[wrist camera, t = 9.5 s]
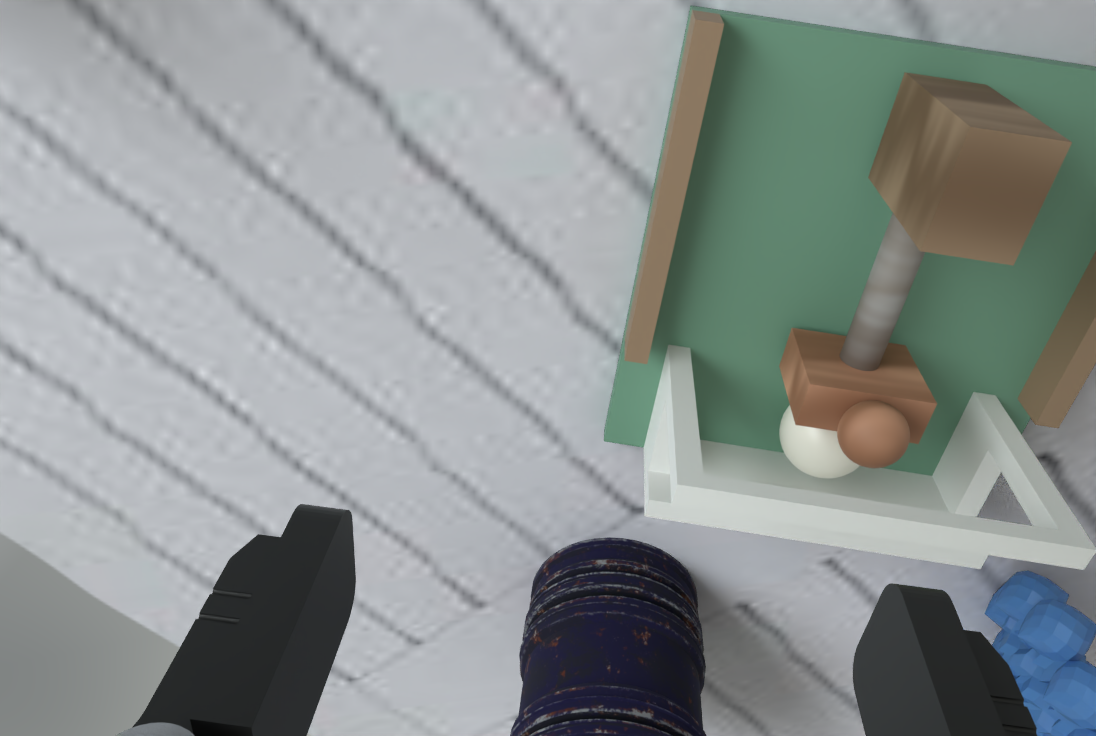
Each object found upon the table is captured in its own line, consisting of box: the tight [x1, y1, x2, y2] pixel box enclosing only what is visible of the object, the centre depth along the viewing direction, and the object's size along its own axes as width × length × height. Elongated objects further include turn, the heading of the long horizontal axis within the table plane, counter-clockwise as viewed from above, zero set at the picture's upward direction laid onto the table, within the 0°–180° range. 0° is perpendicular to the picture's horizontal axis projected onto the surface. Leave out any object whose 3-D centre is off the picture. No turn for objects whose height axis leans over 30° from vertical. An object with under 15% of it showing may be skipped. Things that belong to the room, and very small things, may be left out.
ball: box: [779, 405, 860, 478], centre depth 37 cm, size 4×4×4 cm
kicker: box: [779, 72, 1072, 468], centre depth 31 cm, size 13×5×7 cm, turn 173°
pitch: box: [604, 6, 1096, 570], centre depth 32 cm, size 20×19×11 cm
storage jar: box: [510, 538, 706, 736], centre depth 42 cm, size 10×10×15 cm
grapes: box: [985, 571, 1096, 736], centre depth 40 cm, size 12×7×12 cm, turn 18°
